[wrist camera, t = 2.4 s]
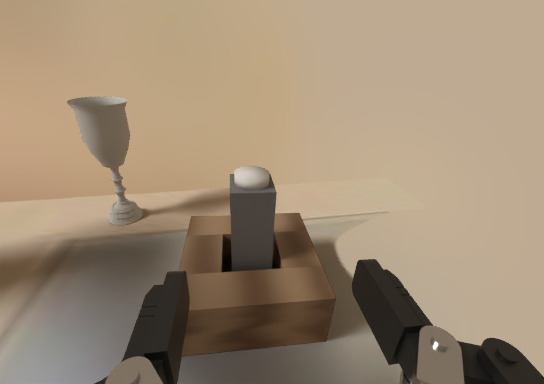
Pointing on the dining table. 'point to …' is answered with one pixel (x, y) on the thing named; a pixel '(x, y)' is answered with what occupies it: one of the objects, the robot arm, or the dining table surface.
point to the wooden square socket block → (253, 290)
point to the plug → (252, 218)
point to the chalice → (108, 145)
